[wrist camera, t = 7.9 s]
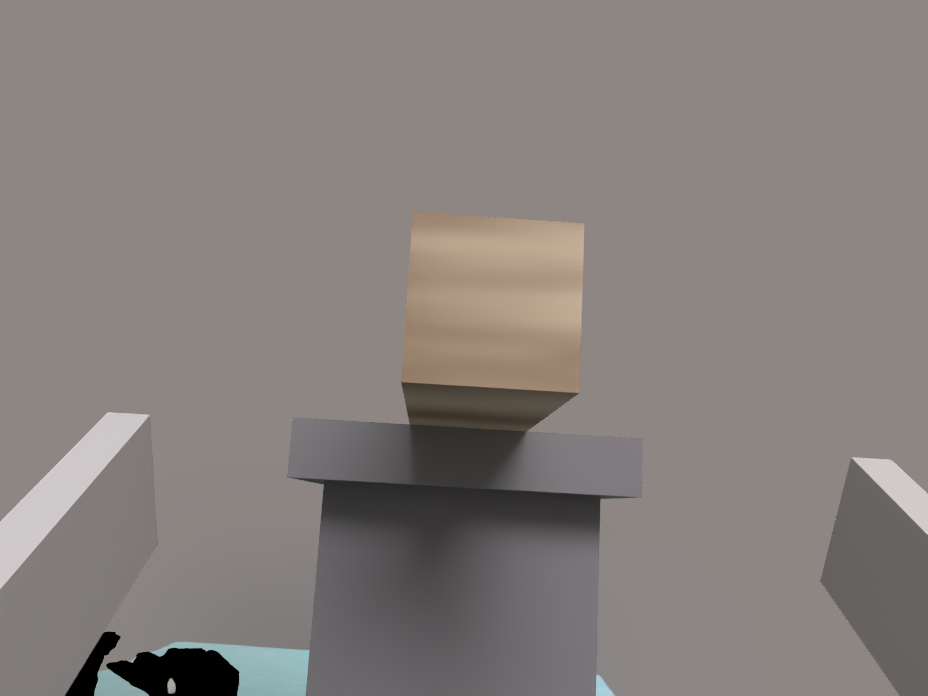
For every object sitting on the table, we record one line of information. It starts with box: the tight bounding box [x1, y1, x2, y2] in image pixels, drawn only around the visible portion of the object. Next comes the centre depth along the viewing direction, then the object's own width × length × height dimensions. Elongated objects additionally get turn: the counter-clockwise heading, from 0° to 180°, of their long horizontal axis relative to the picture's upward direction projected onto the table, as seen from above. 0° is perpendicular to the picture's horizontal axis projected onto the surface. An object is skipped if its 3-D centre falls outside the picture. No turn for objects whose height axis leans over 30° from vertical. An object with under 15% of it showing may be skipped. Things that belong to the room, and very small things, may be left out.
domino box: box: [401, 212, 584, 432], centre depth 32 cm, size 26×4×4 cm, turn 2°
